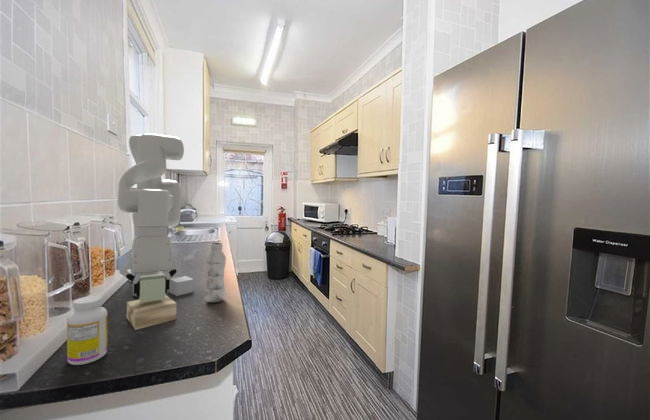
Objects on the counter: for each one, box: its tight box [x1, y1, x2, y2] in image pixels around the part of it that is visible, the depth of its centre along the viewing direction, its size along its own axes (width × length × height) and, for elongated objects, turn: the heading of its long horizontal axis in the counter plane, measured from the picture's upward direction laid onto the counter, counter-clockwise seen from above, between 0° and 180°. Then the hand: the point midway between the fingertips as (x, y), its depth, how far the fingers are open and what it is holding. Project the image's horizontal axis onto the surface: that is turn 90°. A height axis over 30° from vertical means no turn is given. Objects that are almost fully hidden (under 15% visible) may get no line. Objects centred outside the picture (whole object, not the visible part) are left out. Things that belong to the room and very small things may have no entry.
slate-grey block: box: [168, 275, 194, 297], centre depth 103 cm, size 6×6×5 cm
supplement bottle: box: [66, 295, 108, 366], centre depth 60 cm, size 7×7×13 cm
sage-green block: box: [138, 272, 166, 303], centre depth 80 cm, size 6×6×6 cm
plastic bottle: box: [204, 242, 227, 304], centre depth 95 cm, size 6×7×20 cm
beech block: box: [126, 294, 177, 331], centre depth 80 cm, size 10×10×5 cm
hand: (151, 293), depth 80 cm, fingers closed on sage-green block, 6 cm apart
